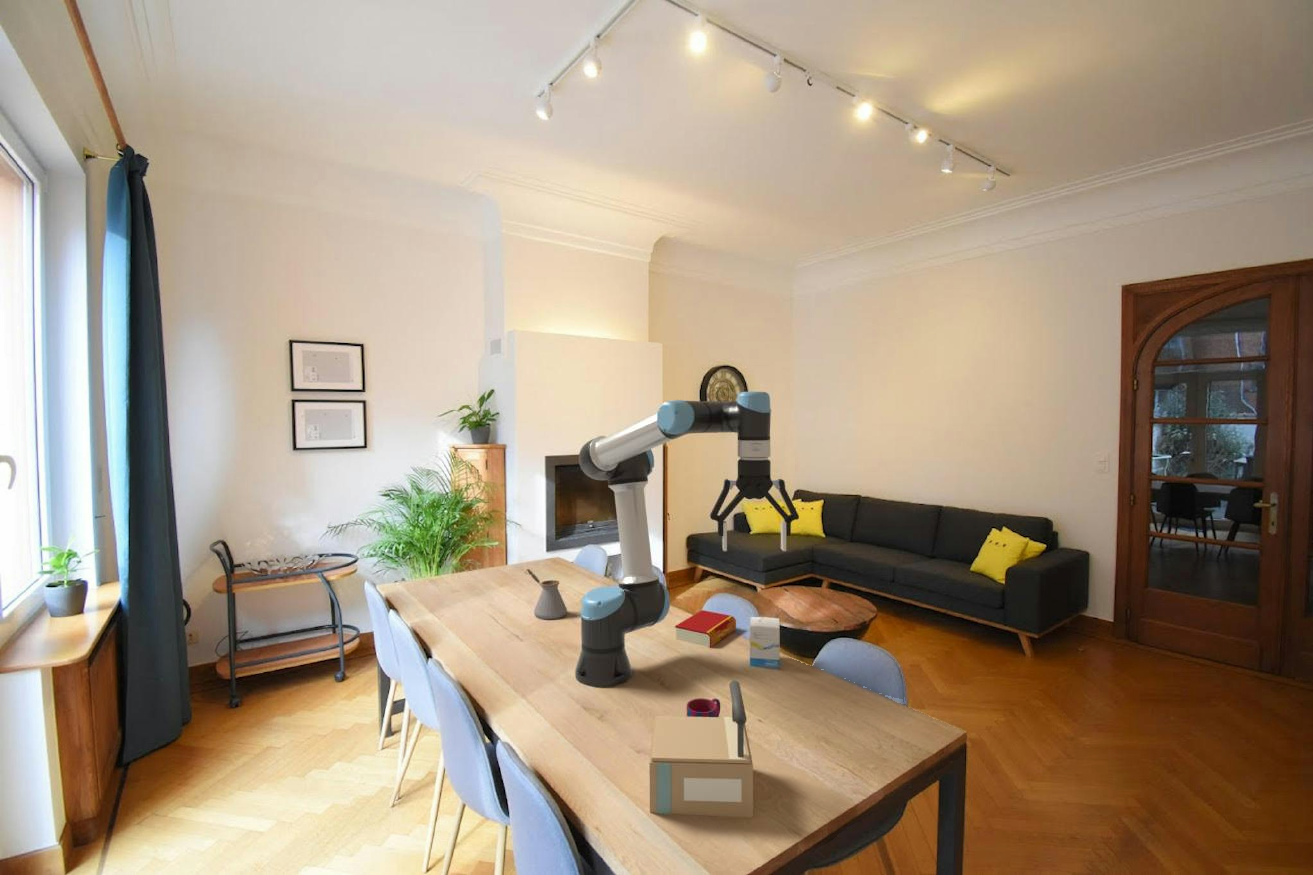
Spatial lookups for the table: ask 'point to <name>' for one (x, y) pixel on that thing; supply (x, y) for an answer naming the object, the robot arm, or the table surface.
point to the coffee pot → (549, 600)
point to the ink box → (764, 642)
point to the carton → (702, 787)
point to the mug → (703, 708)
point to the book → (705, 628)
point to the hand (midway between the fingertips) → (754, 550)
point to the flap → (703, 736)
